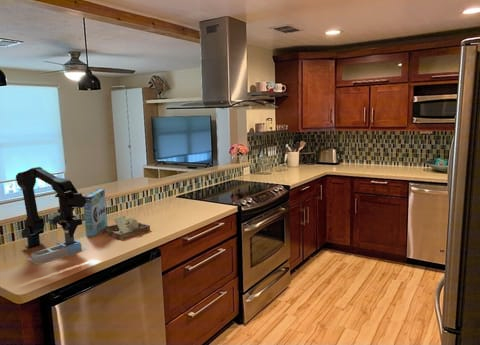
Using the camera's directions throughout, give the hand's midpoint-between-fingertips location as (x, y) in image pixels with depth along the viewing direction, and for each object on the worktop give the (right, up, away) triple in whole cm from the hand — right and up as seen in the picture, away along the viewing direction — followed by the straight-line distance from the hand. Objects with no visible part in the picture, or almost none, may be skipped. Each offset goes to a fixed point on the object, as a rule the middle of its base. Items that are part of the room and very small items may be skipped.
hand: (69, 236), depth 179 cm
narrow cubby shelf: (-4, -9, -4) cm, 10 cm away
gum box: (+1, -3, +33) cm, 33 cm away
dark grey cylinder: (0, -4, +1) cm, 4 cm away
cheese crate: (+19, -2, +29) cm, 35 cm away
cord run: (-8, -7, +8) cm, 13 cm away
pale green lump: (+18, -3, +28) cm, 34 cm away
